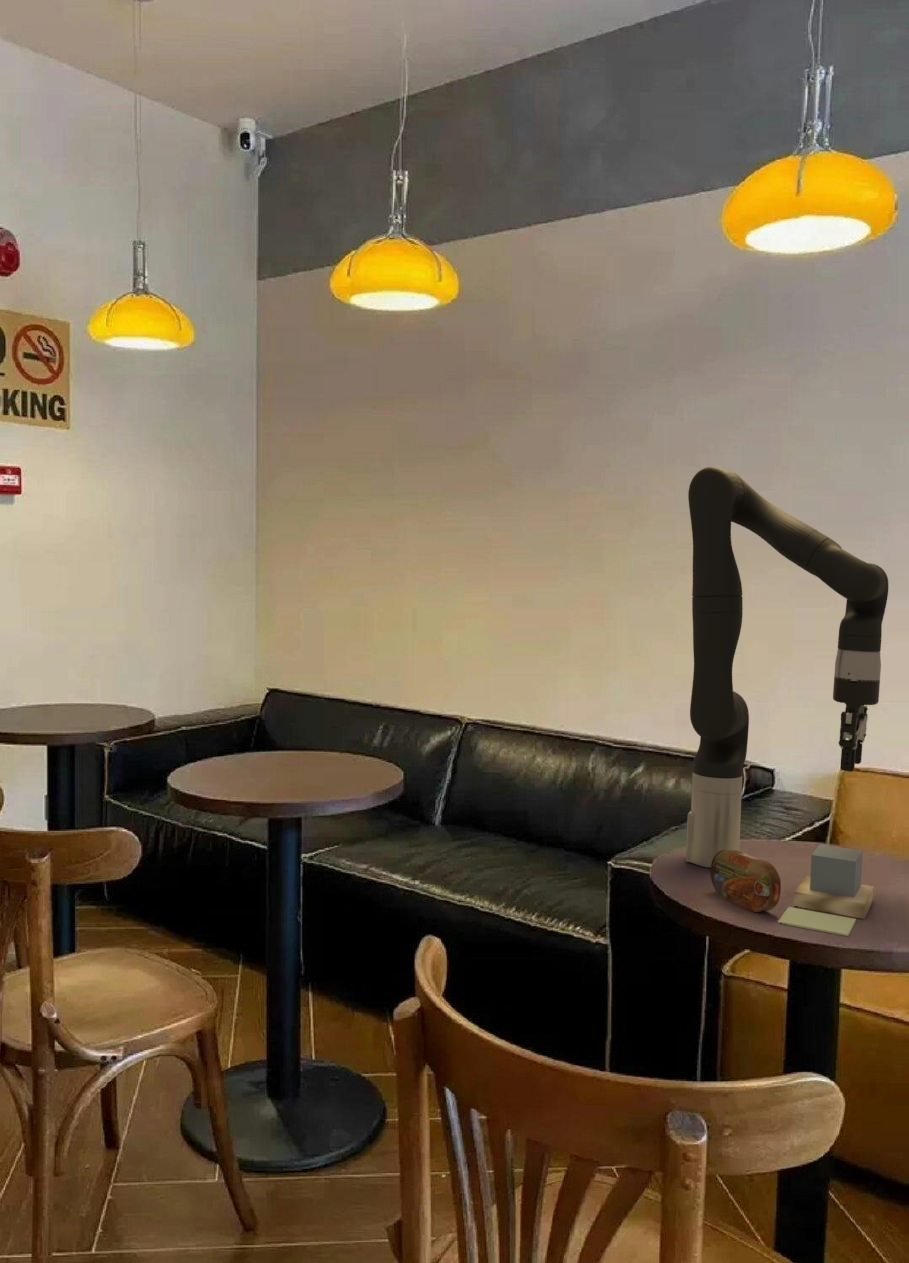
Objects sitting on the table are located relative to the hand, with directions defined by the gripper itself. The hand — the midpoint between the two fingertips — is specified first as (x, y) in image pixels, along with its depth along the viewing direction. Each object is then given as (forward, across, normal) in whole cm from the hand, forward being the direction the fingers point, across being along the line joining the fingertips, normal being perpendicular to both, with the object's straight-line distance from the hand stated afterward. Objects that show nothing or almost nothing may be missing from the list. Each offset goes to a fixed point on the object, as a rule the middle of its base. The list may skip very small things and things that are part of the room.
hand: (850, 766), depth 178 cm
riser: (+22, +11, 0) cm, 24 cm away
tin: (+22, +20, -13) cm, 32 cm away
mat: (+22, +22, -1) cm, 31 cm away
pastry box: (+19, +10, 0) cm, 22 cm away
